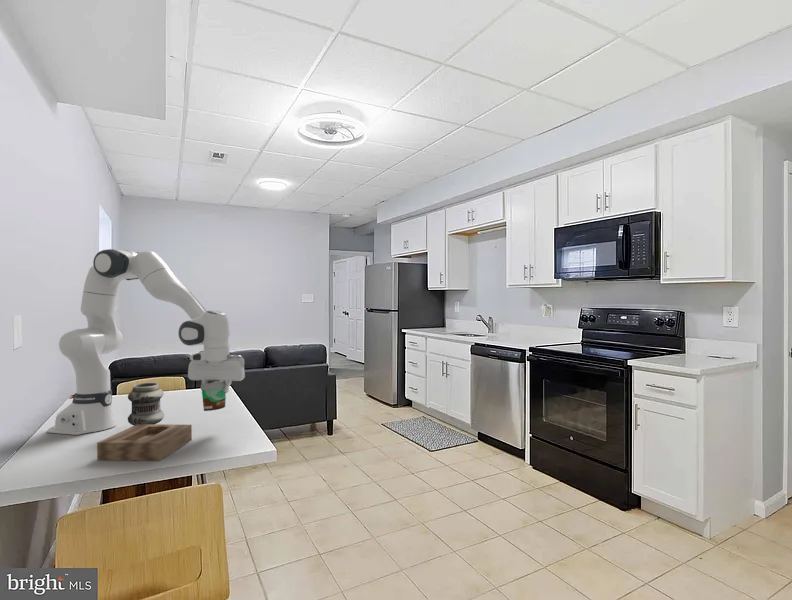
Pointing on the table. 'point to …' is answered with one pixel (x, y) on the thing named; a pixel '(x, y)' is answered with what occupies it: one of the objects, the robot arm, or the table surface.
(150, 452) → the walnut base
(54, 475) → the table surface
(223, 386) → the food container
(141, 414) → the apothecary jar
